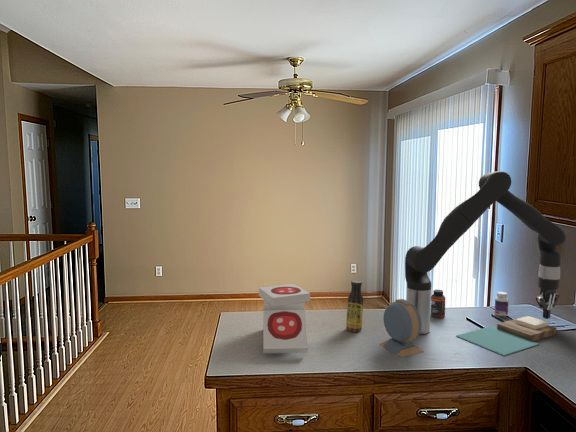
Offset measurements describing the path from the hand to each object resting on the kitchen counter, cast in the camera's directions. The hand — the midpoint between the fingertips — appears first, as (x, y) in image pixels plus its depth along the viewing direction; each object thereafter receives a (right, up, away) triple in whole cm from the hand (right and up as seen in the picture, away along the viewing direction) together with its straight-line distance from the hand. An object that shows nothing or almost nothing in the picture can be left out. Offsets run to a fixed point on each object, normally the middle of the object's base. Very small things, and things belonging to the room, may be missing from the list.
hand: (546, 318), depth 177 cm
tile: (-9, -1, -5) cm, 10 cm away
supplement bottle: (-40, -2, +13) cm, 42 cm away
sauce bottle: (-79, -4, -4) cm, 79 cm away
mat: (-27, -5, -15) cm, 31 cm away
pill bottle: (-11, -2, +15) cm, 19 cm away
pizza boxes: (-106, -5, -16) cm, 108 cm away
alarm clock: (-65, -6, -21) cm, 68 cm away
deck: (-11, -4, -6) cm, 13 cm away
